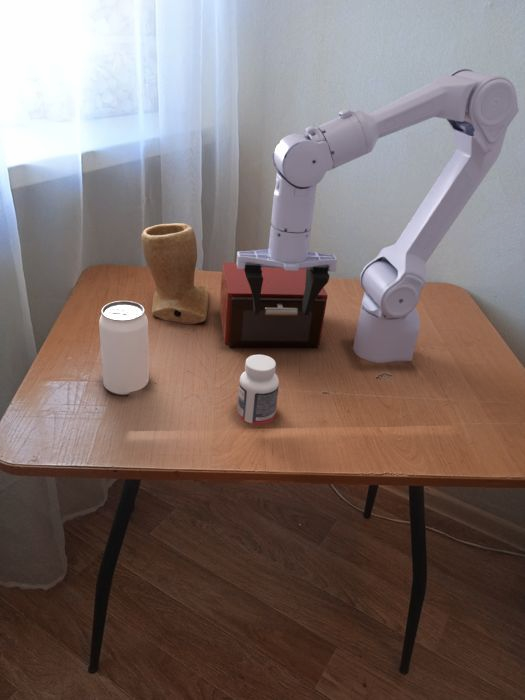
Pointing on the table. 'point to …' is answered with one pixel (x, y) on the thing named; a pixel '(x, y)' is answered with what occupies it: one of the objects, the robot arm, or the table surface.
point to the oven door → (275, 323)
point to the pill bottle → (258, 390)
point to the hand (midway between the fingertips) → (280, 311)
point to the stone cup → (174, 273)
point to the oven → (273, 286)
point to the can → (124, 347)
